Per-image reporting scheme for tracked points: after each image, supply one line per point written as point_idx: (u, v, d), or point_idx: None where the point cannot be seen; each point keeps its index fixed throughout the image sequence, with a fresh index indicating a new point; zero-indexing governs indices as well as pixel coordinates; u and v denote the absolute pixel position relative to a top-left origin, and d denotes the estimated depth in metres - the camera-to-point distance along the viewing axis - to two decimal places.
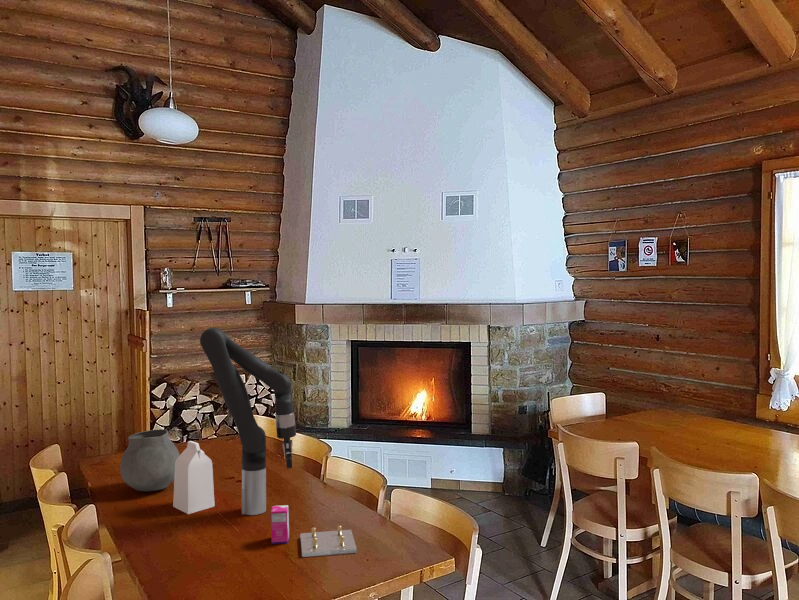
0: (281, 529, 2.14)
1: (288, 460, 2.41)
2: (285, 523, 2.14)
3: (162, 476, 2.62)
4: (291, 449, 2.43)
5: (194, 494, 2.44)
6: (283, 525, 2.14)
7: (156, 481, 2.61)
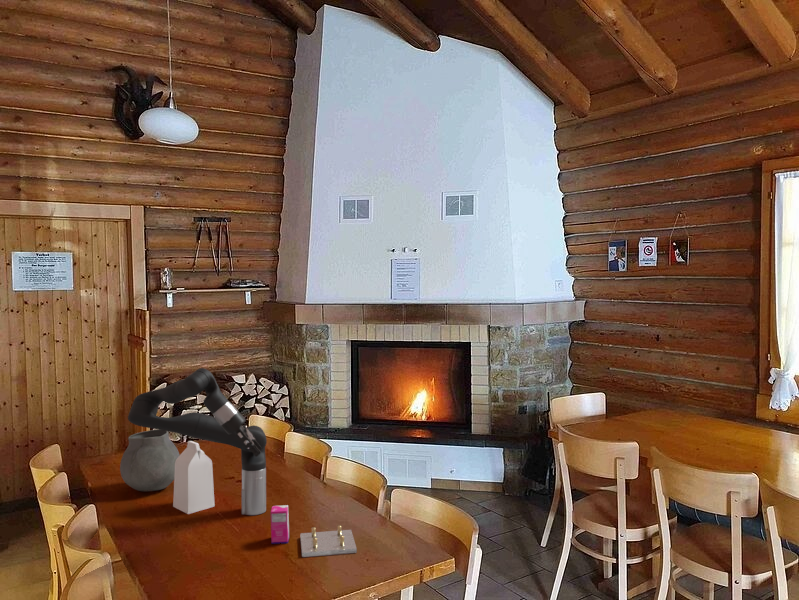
0: (281, 529, 2.14)
1: (251, 448, 2.13)
2: (285, 523, 2.14)
3: (162, 476, 2.62)
4: (248, 436, 2.15)
5: (194, 494, 2.44)
6: (283, 525, 2.14)
7: (156, 481, 2.61)
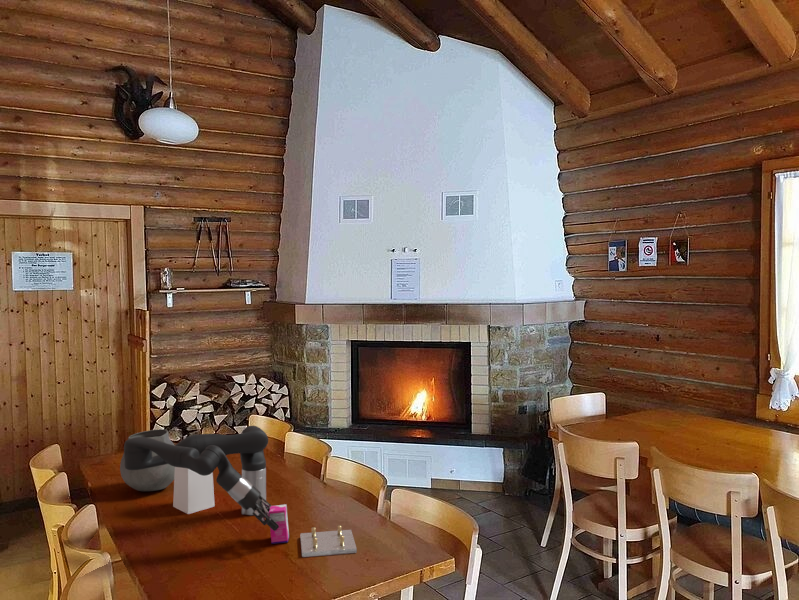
0: (280, 529, 2.14)
1: (269, 523, 2.10)
2: (283, 522, 2.14)
3: (162, 476, 2.62)
4: (265, 511, 2.12)
5: (194, 494, 2.44)
6: (281, 524, 2.14)
7: (156, 481, 2.61)
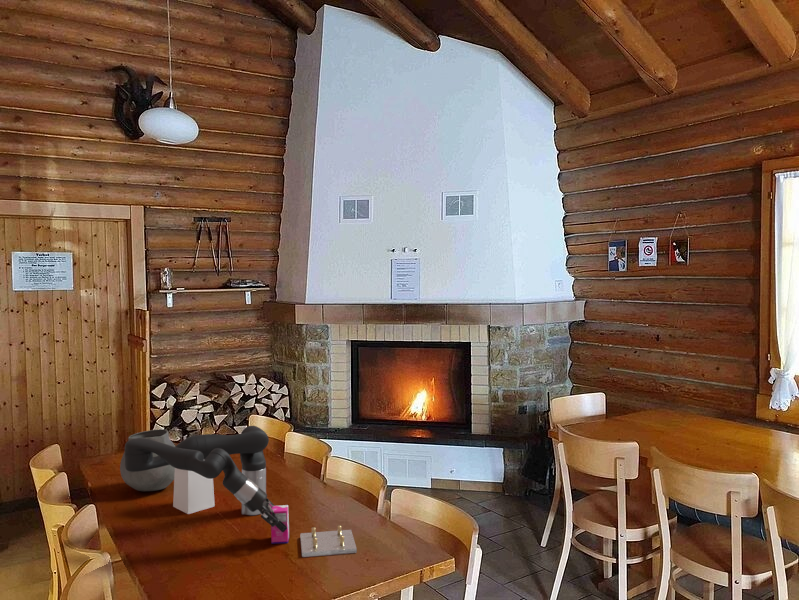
0: None
1: (277, 525, 2.13)
2: (285, 523, 2.14)
3: (162, 476, 2.62)
4: (273, 513, 2.13)
5: (194, 494, 2.44)
6: None
7: (156, 481, 2.61)
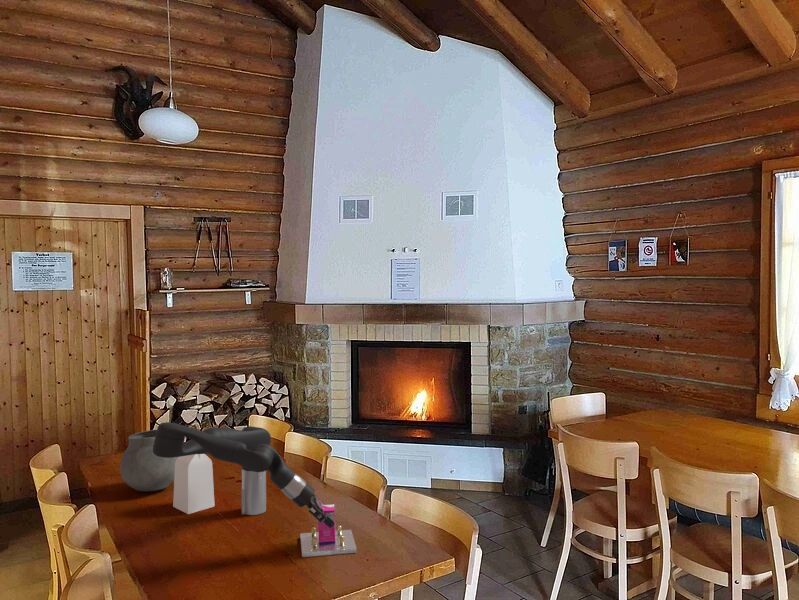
0: (328, 529, 2.11)
1: (325, 520, 2.08)
2: None
3: (162, 476, 2.62)
4: (320, 508, 2.09)
5: (194, 494, 2.44)
6: None
7: (155, 481, 2.61)
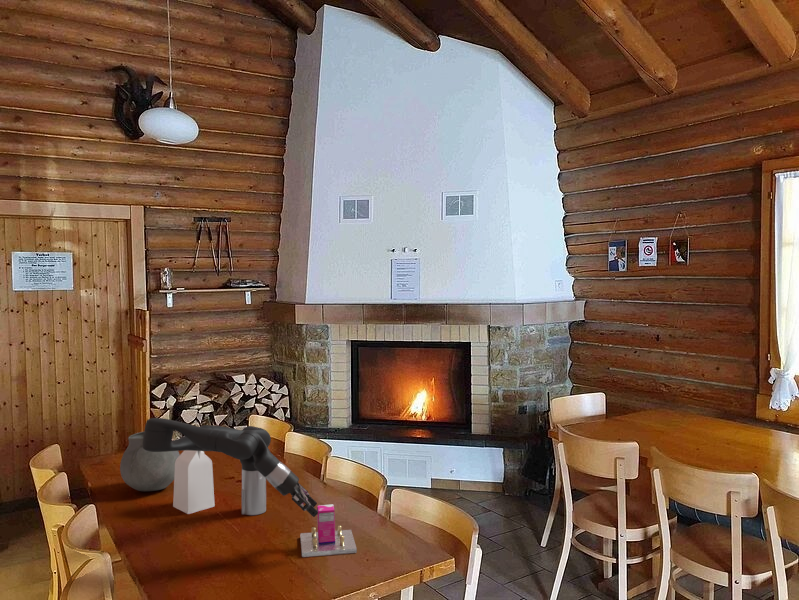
0: (328, 529, 2.11)
1: (308, 509, 2.06)
2: (332, 522, 2.11)
3: (162, 476, 2.62)
4: (304, 496, 2.07)
5: (194, 494, 2.44)
6: (330, 524, 2.11)
7: (156, 481, 2.61)
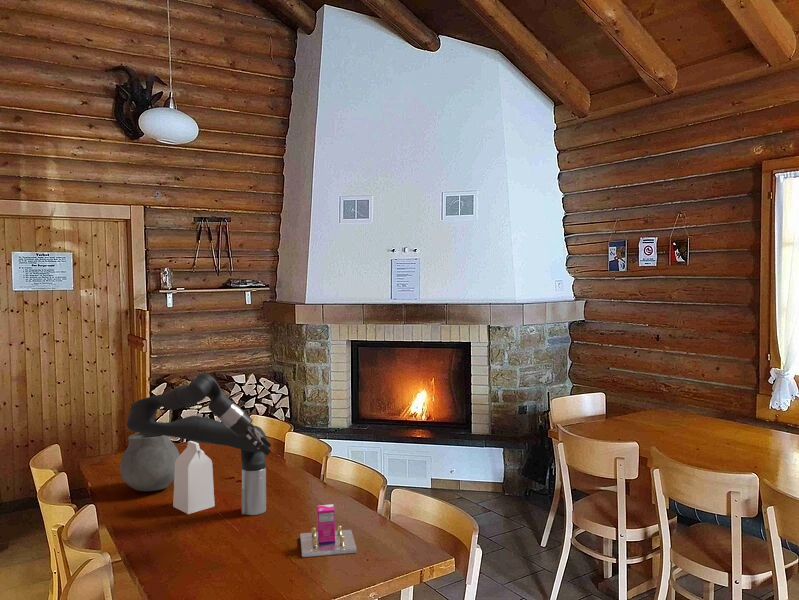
0: (328, 529, 2.11)
1: (261, 447, 2.15)
2: (332, 522, 2.11)
3: (162, 476, 2.62)
4: (257, 436, 2.16)
5: (194, 494, 2.44)
6: (330, 524, 2.11)
7: (156, 481, 2.61)
